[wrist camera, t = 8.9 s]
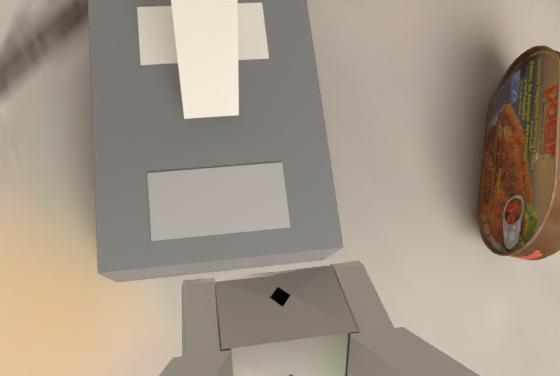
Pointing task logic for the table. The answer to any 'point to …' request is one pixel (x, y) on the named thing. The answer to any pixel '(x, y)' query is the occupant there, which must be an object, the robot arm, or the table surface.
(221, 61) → the breaker lever
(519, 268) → the table surface
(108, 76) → the switch box
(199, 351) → the robot arm
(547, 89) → the tin
